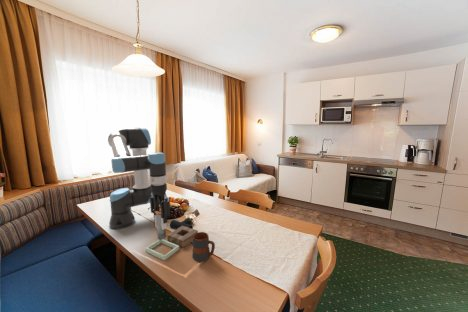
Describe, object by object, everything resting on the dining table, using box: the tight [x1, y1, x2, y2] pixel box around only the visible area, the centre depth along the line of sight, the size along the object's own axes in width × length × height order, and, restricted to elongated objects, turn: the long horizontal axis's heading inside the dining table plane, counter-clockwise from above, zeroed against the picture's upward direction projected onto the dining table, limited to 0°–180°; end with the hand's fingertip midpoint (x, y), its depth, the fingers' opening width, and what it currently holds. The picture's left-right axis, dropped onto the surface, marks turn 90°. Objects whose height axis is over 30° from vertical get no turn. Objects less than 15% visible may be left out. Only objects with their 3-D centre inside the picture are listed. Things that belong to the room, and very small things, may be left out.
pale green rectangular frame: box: [144, 239, 180, 261], centre depth 102 cm, size 14×10×3 cm
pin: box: [155, 207, 167, 240], centre depth 100 cm, size 5×5×15 cm
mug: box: [192, 231, 216, 263], centre depth 97 cm, size 9×12×12 cm
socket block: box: [166, 226, 199, 248], centre depth 112 cm, size 12×12×5 cm
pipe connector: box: [169, 216, 194, 230], centre depth 127 cm, size 12×5×15 cm
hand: (161, 227), depth 100 cm, fingers closed on pin, 4 cm apart
